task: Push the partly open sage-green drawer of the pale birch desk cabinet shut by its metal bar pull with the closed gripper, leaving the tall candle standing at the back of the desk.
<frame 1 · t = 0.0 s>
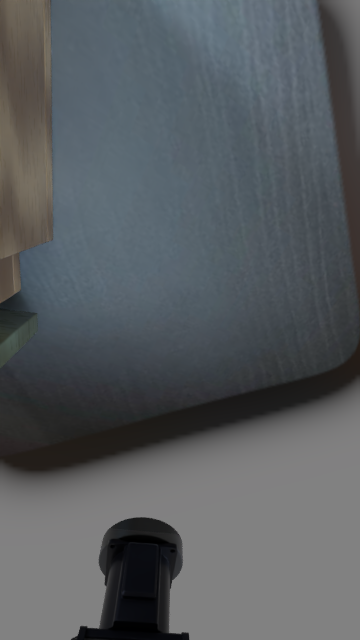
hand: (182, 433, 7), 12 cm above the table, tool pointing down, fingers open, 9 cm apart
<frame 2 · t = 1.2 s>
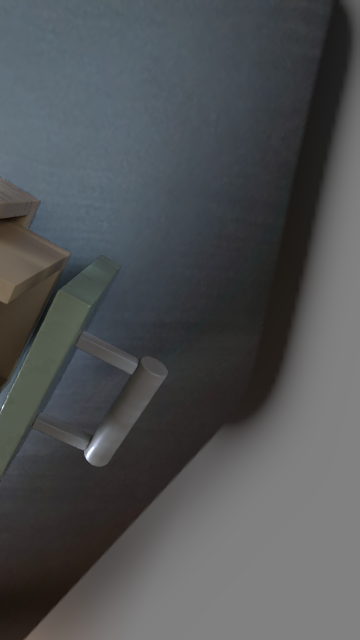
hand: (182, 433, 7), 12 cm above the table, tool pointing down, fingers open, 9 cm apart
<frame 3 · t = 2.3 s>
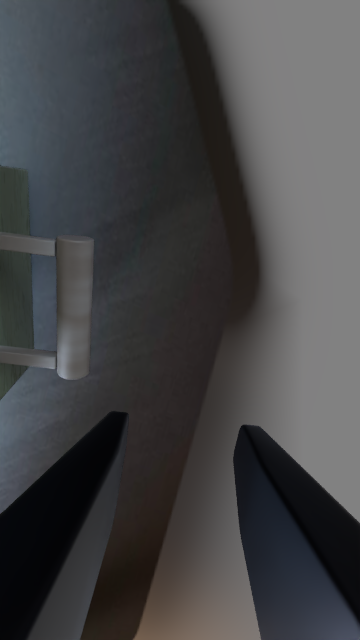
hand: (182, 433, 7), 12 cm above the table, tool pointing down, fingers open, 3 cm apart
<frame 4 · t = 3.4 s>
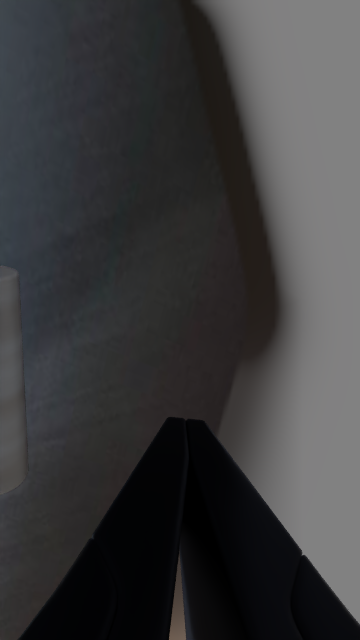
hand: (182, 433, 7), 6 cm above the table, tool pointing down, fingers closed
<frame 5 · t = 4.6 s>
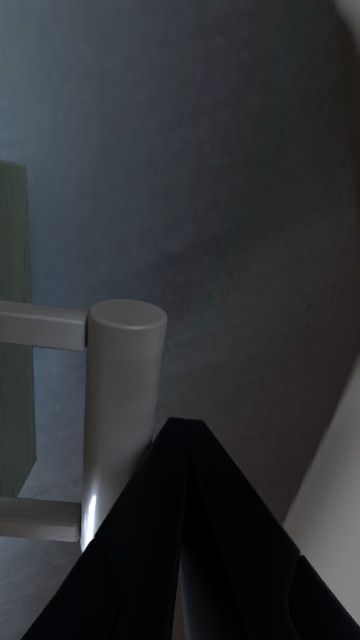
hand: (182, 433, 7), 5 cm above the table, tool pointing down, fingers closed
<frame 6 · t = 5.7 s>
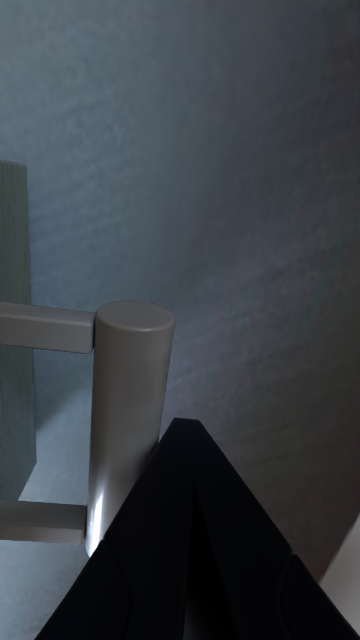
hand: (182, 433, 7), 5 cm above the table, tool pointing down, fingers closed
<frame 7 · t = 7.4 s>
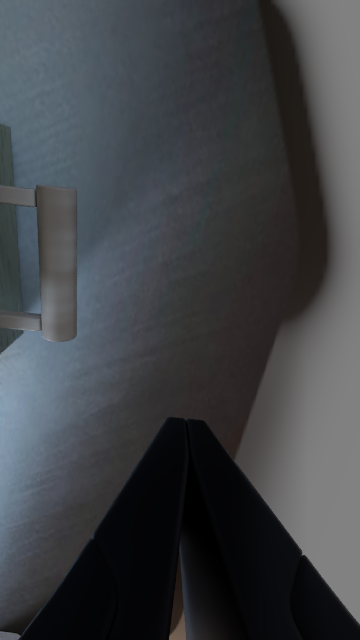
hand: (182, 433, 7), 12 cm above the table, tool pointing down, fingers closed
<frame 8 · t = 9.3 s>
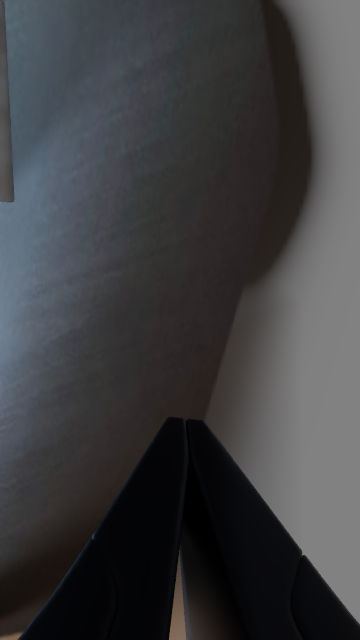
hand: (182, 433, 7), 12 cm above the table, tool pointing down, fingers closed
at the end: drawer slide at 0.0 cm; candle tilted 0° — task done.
